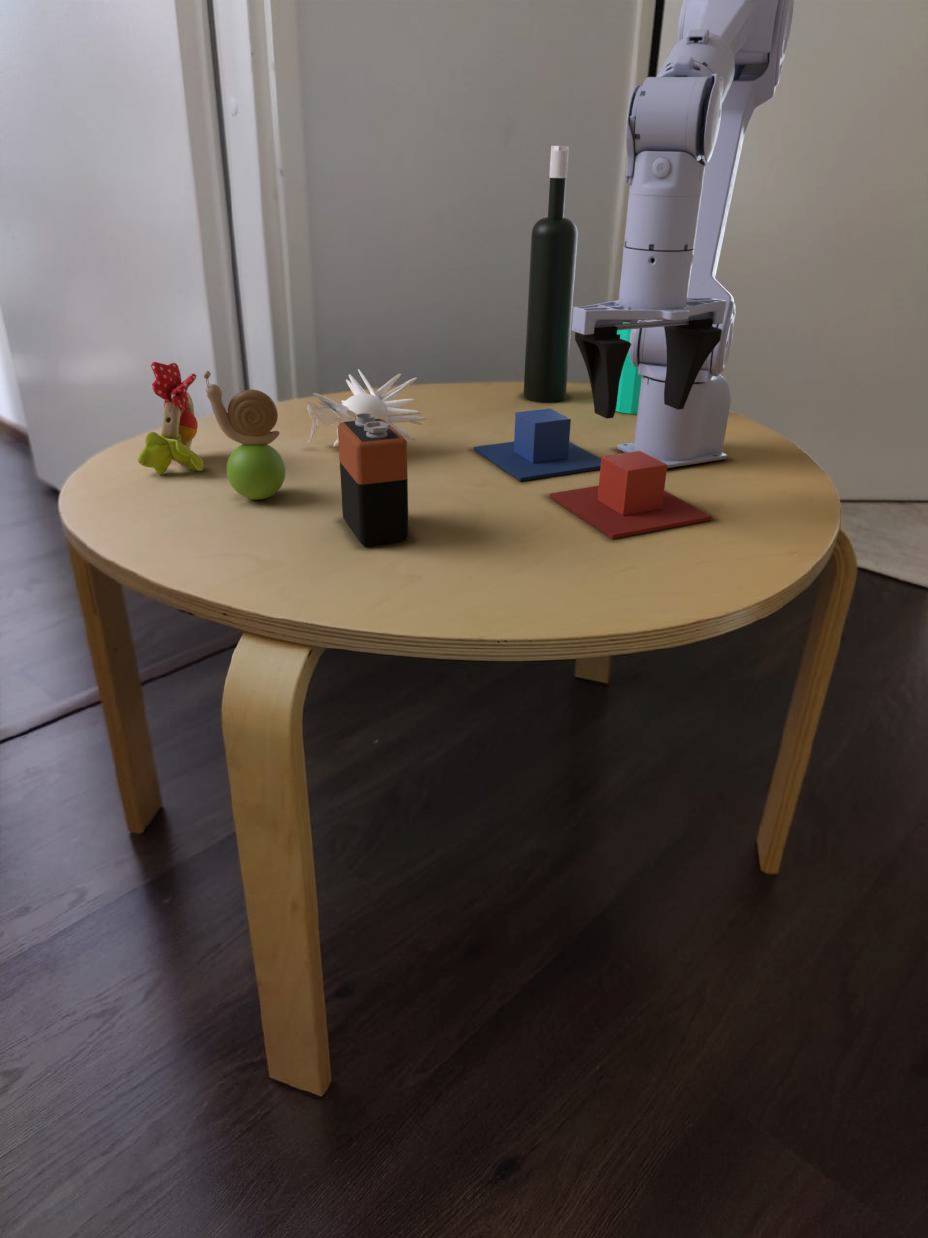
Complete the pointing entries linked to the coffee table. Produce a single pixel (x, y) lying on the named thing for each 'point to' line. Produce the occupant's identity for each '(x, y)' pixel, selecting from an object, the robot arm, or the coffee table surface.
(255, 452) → the snail figurine
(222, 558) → the coffee table surface
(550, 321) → the wine bottle
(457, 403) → the coffee table surface
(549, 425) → the blue block
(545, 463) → the blue mat
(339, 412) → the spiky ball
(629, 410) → the candle
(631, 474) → the red block
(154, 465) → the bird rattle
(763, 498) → the coffee table surface
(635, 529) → the red mat
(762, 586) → the coffee table surface
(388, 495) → the battery
